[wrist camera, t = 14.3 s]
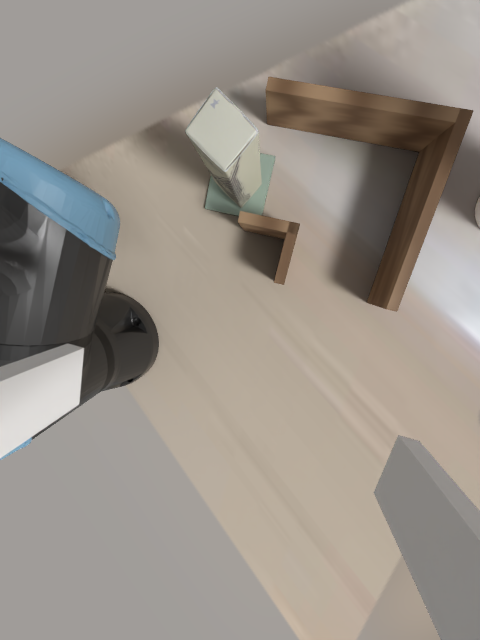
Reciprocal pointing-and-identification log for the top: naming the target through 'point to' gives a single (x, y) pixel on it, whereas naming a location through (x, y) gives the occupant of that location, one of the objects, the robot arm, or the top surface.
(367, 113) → the wooden u-shaped enclosure
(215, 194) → the pad
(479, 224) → the cylindrical container
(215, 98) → the box
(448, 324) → the top surface
